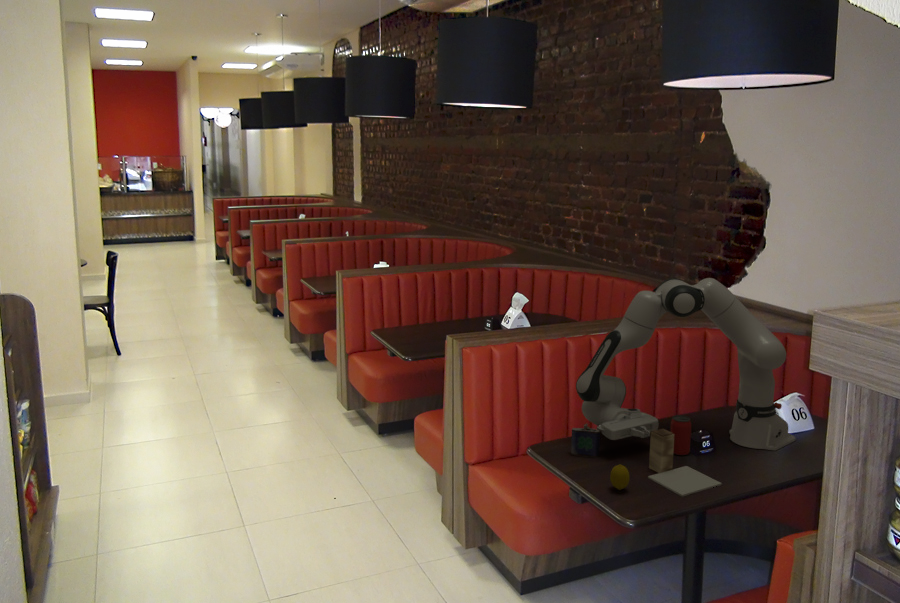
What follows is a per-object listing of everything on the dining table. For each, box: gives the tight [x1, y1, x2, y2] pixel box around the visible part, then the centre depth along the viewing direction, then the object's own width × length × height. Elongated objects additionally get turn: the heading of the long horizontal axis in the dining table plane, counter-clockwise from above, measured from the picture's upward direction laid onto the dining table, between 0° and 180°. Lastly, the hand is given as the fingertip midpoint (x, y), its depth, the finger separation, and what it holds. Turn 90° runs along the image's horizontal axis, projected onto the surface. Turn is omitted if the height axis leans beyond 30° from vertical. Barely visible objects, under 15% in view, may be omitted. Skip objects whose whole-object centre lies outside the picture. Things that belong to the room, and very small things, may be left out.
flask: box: [570, 423, 601, 458], centre depth 234 cm, size 9×3×11 cm, turn 76°
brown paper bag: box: [648, 428, 674, 474], centre depth 223 cm, size 5×5×12 cm
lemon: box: [609, 464, 630, 491], centre depth 209 cm, size 6×6×8 cm
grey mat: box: [647, 465, 723, 498], centre depth 215 cm, size 16×14×1 cm
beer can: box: [669, 414, 692, 456], centre depth 235 cm, size 7×7×12 cm
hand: (646, 435), depth 228 cm, fingers closed
